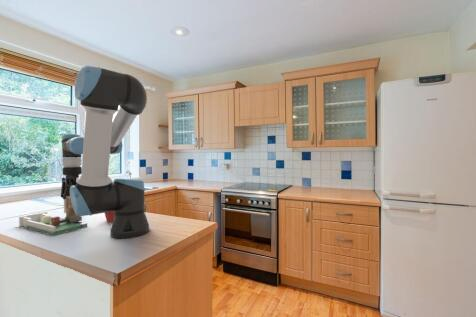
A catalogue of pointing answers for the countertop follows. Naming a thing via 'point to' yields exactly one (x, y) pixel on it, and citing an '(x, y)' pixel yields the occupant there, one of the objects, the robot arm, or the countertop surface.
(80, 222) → the rail
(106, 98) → the robot arm
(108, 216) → the flower pot
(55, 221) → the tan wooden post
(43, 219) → the ball
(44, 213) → the pitch
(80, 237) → the countertop surface
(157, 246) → the countertop surface
